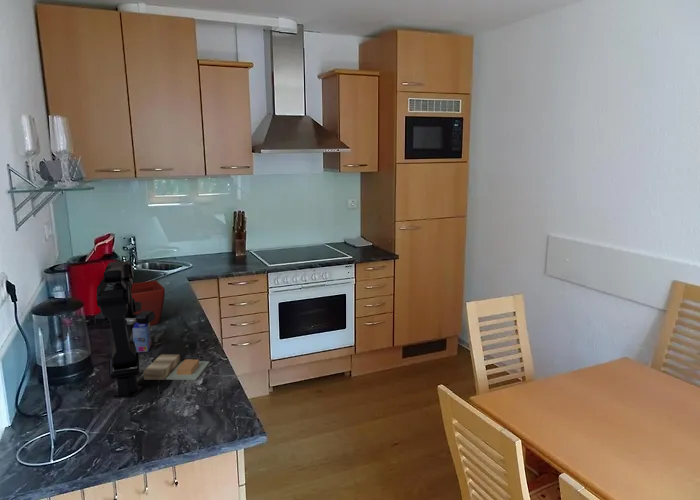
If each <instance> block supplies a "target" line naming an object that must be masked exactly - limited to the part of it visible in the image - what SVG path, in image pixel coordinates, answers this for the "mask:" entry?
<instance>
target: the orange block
mask: <svg viewBox="0 0 700 500" xmlns="http://www.w3.org/2000/svg"><path fill="white" fill-rule="evenodd" d="M182 361H183V363H182V364H181V365H180V366H179V367H178V368H177V375H192V373H193V372H194V371H195V370H196V368H197V367H198V366H199V361H200V359H184V360H182Z"/></svg>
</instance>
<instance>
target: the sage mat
mask: <svg viewBox="0 0 700 500" xmlns="http://www.w3.org/2000/svg"><path fill="white" fill-rule="evenodd" d="M183 361H184V360H180V363H179V364H178V365H177V366H176V367H175V369H174V370H173V371H172V372H171V373H170V374H169V375H168V376H167V377H166V378H165V380H169V381H171V380H172V381H174V380H175V381H177V380H178V381H181V380H182V381H187V380H188V381H196V380H197V379H198V378H199V377H200V375H202V373H203V372H204V371H205V369H206V368H207V367H208V365H209V364H210V361H208V360H207V361H206V360H199V366H198V367H197V368H196V370H195V371H194V372H193V373H192V375H177V368H178V367H179V366H180V365H181V364H182V363H183Z"/></svg>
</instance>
